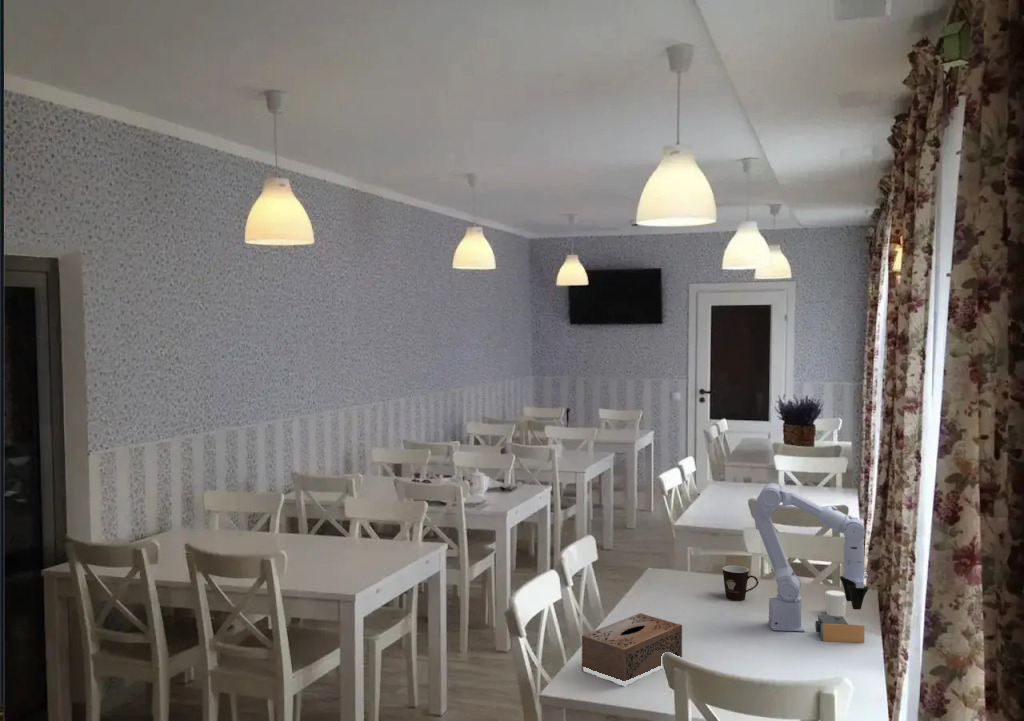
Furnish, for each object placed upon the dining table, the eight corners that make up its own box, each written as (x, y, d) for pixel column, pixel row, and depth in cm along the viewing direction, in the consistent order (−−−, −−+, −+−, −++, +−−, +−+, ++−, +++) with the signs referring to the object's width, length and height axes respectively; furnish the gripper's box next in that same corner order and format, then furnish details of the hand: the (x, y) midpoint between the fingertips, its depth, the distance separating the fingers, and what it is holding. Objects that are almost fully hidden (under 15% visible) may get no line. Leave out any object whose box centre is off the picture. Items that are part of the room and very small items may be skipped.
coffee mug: (717, 596, 298) (717, 567, 297) (737, 592, 301) (737, 564, 301) (739, 606, 287) (739, 576, 287) (760, 602, 291) (760, 572, 291)
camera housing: (818, 639, 256) (819, 621, 256) (813, 631, 263) (814, 613, 263) (847, 641, 255) (848, 622, 255) (842, 632, 262) (842, 614, 262)
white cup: (843, 611, 282) (843, 589, 281) (849, 618, 275) (850, 596, 275) (821, 610, 282) (822, 589, 282) (827, 617, 276) (827, 595, 275)
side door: (820, 640, 255) (821, 624, 255) (820, 639, 256) (820, 623, 256) (864, 642, 254) (864, 625, 253) (863, 641, 254) (863, 624, 254)
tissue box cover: (640, 647, 252) (640, 613, 252) (682, 660, 242) (682, 625, 241) (581, 672, 234) (581, 635, 233) (624, 688, 224) (624, 649, 223)
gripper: (874, 566, 252) (874, 613, 252) (861, 553, 266) (861, 597, 266) (849, 566, 253) (848, 612, 253) (837, 553, 267) (837, 597, 267)
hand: (853, 604), depth 260 cm, fingers open, 7 cm apart
